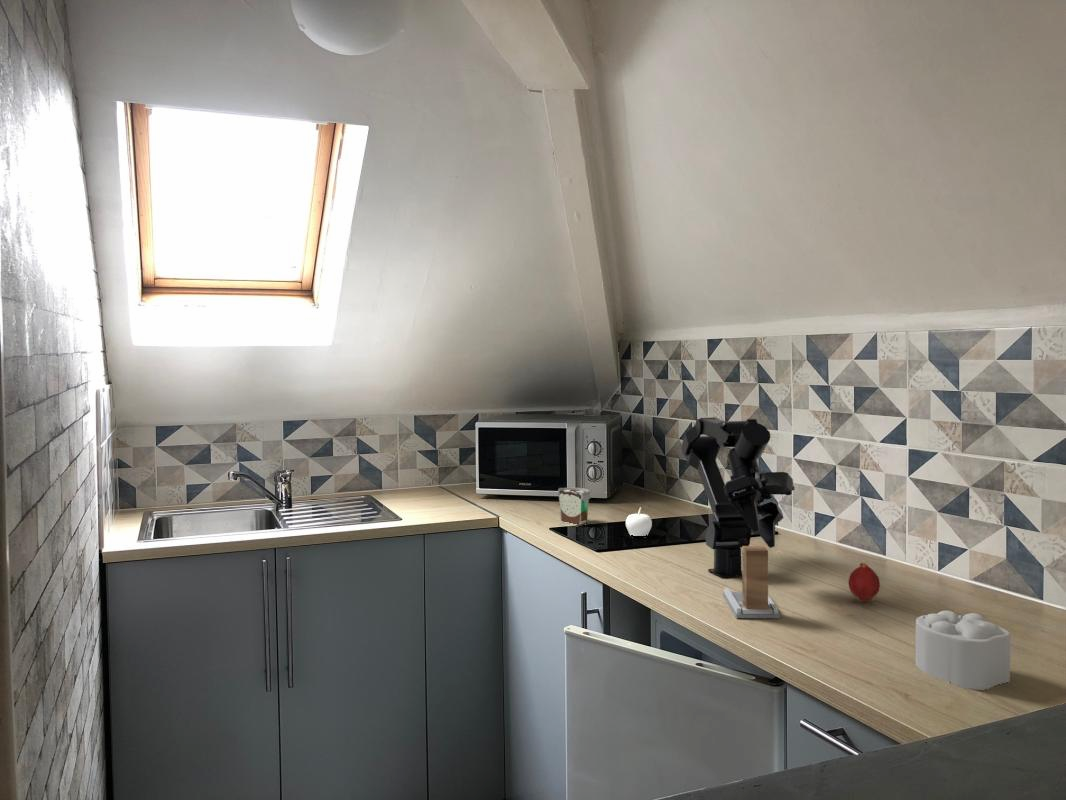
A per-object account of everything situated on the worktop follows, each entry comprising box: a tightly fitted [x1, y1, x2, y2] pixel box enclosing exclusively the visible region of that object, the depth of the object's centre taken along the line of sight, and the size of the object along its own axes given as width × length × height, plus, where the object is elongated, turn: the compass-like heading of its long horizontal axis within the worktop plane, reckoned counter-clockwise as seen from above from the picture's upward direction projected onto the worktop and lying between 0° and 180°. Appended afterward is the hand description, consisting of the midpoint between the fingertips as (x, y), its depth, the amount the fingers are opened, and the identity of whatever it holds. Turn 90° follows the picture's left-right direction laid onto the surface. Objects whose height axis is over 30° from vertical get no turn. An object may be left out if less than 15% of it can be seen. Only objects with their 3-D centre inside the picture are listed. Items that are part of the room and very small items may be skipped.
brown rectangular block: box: [738, 545, 773, 614], centre depth 161 cm, size 5×5×12 cm
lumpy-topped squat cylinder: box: [915, 610, 1011, 691], centre depth 131 cm, size 10×13×9 cm
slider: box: [722, 587, 781, 619], centre depth 166 cm, size 15×8×2 cm, turn 177°
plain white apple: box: [625, 507, 653, 536], centre depth 231 cm, size 7×7×8 cm
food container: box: [557, 487, 592, 525], centre depth 251 cm, size 12×6×10 cm, turn 34°
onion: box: [847, 561, 881, 603], centre depth 168 cm, size 6×6×8 cm
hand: (764, 539), depth 169 cm, fingers open, 9 cm apart
